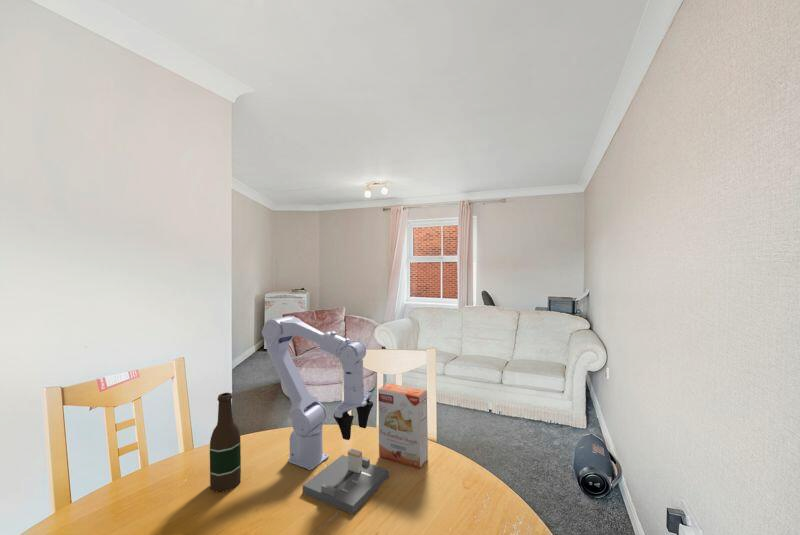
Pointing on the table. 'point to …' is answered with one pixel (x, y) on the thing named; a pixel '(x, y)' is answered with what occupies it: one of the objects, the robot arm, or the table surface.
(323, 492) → the console
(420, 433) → the cracker box
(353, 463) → the fader tab
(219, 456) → the beer bottle
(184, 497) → the table surface
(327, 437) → the table surface
